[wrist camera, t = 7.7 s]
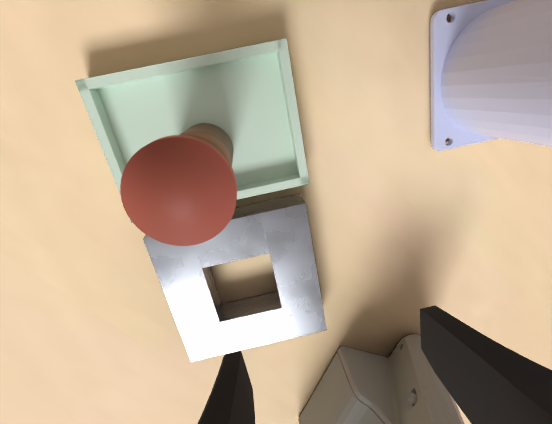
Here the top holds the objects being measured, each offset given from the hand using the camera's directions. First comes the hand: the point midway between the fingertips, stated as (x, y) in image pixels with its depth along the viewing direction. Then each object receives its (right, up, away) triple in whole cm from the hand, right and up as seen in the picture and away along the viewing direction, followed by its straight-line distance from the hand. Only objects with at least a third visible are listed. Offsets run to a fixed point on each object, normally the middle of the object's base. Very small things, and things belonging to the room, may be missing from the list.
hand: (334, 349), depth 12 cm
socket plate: (-5, +1, +10) cm, 11 cm away
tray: (-7, +10, +7) cm, 14 cm away
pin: (-6, +9, +7) cm, 13 cm away
